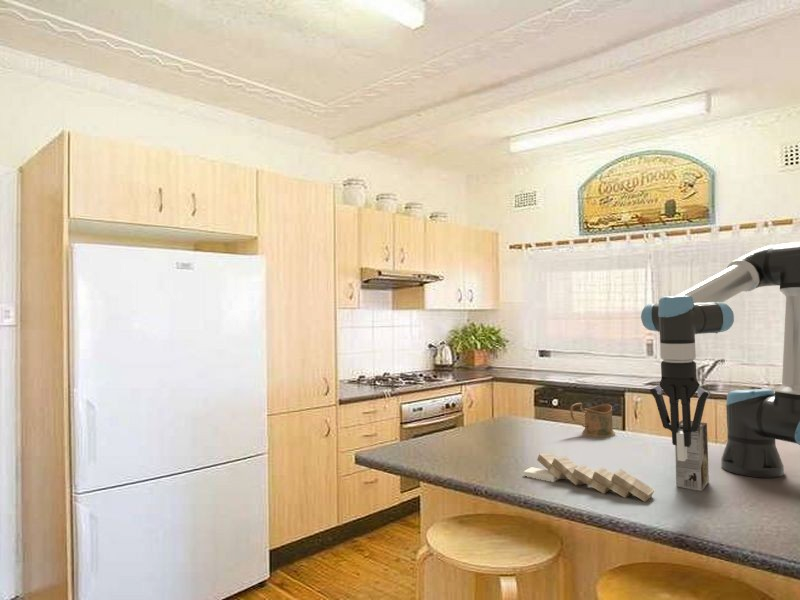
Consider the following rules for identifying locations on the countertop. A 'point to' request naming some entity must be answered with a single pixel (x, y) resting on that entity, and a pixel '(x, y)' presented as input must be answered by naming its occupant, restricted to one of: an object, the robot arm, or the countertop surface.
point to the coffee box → (694, 461)
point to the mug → (596, 420)
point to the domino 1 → (540, 474)
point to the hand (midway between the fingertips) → (682, 459)
